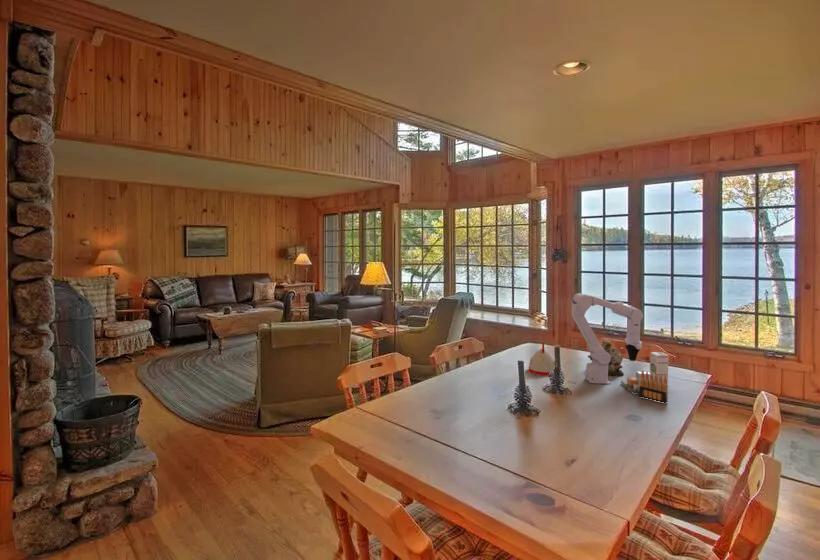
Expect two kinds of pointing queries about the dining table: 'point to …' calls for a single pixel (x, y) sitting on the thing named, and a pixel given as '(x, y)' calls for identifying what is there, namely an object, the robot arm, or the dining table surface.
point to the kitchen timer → (541, 362)
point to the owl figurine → (612, 359)
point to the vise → (631, 387)
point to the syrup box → (659, 365)
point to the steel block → (638, 377)
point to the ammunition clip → (653, 387)
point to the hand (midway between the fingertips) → (632, 360)
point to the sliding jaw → (632, 381)
